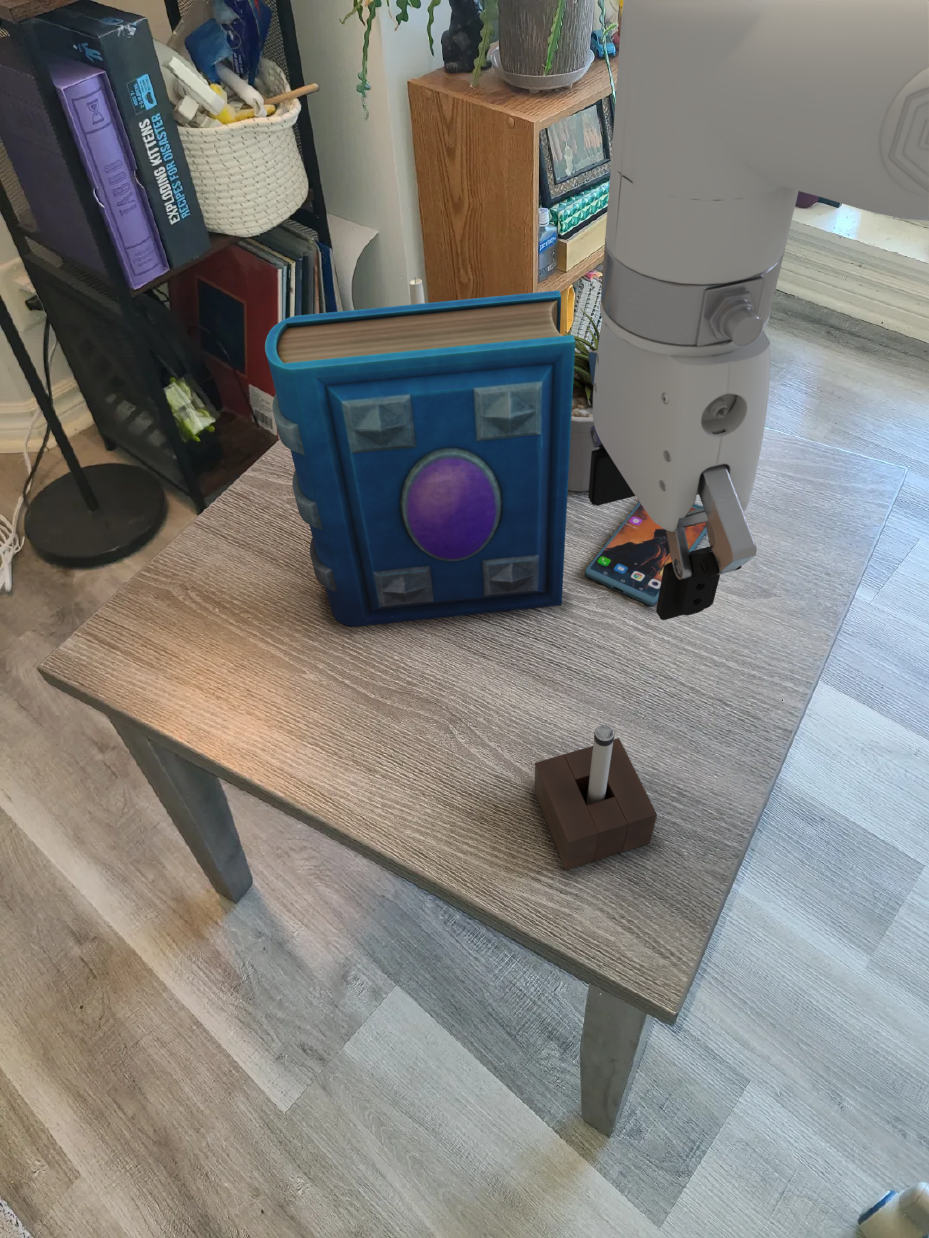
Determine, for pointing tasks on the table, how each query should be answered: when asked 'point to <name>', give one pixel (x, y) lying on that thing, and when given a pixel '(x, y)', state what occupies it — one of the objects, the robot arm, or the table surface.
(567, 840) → the pen stand
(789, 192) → the robot arm
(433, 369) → the book
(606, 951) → the table surface
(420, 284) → the candle
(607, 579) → the smartphone
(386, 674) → the table surface
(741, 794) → the table surface
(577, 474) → the potted plant
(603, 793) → the stylus
